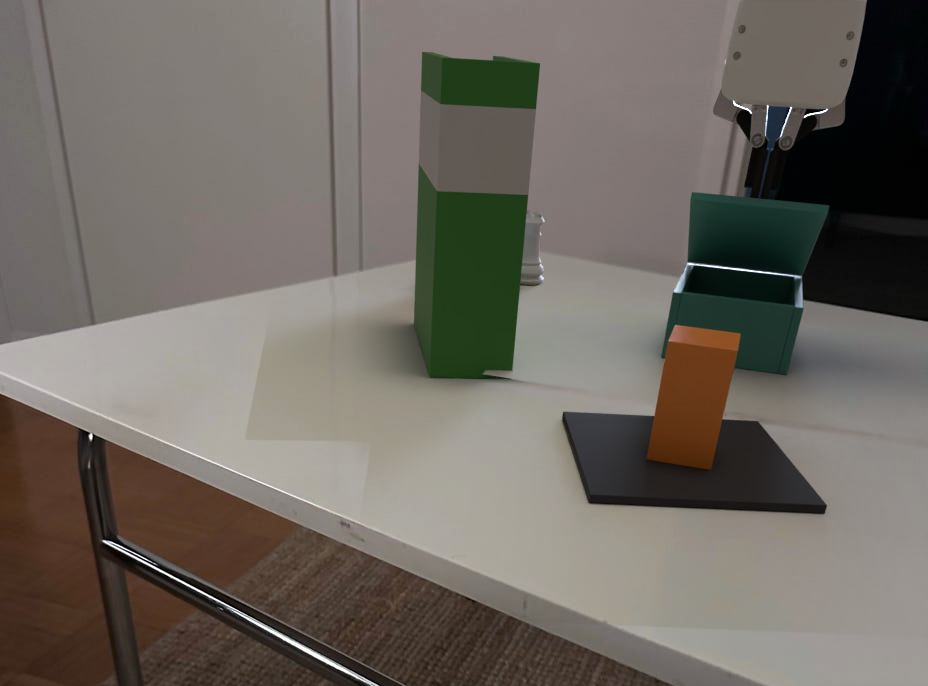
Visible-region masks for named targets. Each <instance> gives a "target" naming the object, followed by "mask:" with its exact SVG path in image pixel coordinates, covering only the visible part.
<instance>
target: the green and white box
mask: <svg viewBox="0 0 928 686" xmlns="http://www.w3.org/2000/svg"><path fill="white" fill-rule="evenodd" d="M540 70H541V63H540V62H536V61H529V60H524V59H519V58H514V57H509V56H502V55H492V59H478V58H477V59H475V58H460V57H452V56H447V55H445V54H441V53H437V52H433V51H421V73H420V75H421V78H420V105H419V106H420V107H419V108H420V109H419V110H420V111H419V137H418V138H419V139H418V140H419V141H418V174H417V175H418V177H417V204H416V205H417V210H416V239H415V240H416V244H415V270H414V271H415V272H414V273H415V275H414V277H415V278H414V307H413V308H414V309H413V325H414V329H415V332H416V336H417V340H418V344H419V346H420V350H421V353H422V356H423V360H424V363H426V364H425V367H426V371H427V374H428V376H429V377H431V378H433V379H434V378H435V377H437V378H439V379H489V380H491V379H492V378H493V379H497V380H499V379H500V380H512V378H510V377H505V376H497V375H489V374H485V372H486V371H512V372H513V369H514V358H515V348H516V347H515V346H516V337H517V336H516V335H517V334H516V333H517V325H518V315H519V314H518V313H519V303H520V290H521V284H520V281H521V270H522V259H523V248H524V237H525V226H526V215H527V210H528V204H529V203H528V202H529V192H530V181H531V170H532V161H533V160H532V159H533V150H534V149H533V148H534V139H535V138H534V136H535V126H536V125H535V124H536V114H537V104H538V94H539V93H538V92H539V80H540ZM435 379H436V378H435ZM493 379H492V380H493Z"/></svg>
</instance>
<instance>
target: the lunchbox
mask: <svg viewBox="0 0 928 686" xmlns="http://www.w3.org/2000/svg"><path fill="white" fill-rule="evenodd" d="M669 306H670V307H669V311H668V317H667V322H666V329H665V333H664V340H663V344H662V351H661V357H660V359H664V360H665V355H666V350H667V344H668V340H669V338H670V336H671V333H672V331H673V328H674V326H675V325H680V326H687V327H695V328H703V329H710V330H718V331H726V332H733V333H740V334H741V336H740V341H739V347H738V352H737V357H736V361H735V366H734V369H735V370H736V369H738V370H743V371H744V370H745V371H752V372H759V373H766V374H772V375H779V376H780V375H781V376H787V375H788V371H789V367H790V364H791V360H792V357H793V352H794V348H795V345H796V340H797V337H798V334H799V333H798V332H799V328H800V325H801V321H802V317H803V313H804V308H805V306H804V289H803V275H795V274H787V273H779V272H770V271H761V270H753V269H744V268H735V267H727V266H718V265H709V264H700V263H692V262H687V263H686V265H685V267H684V268H683V271H682V273H681V275H680V277H679V279H678V281H677V283H676V285H675V287H674V290H673V291H672V295H671V301H670V305H669Z"/></svg>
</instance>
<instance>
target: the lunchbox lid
mask: <svg viewBox="0 0 928 686" xmlns="http://www.w3.org/2000/svg"><path fill="white" fill-rule="evenodd" d="M829 210H830V205H828V204H819V203H808V202H798V201H789V200H777V199H770V198H769V199H760V197H758V198H750V196H737V195H736V196H735V195H728V194H718V193H717V194H716V193H709V192H697V191H691V194H690V200H689V218H688V219H689V220H688V241H687V258H686V259H687V260H686V261H687V263H691V264H700V265H709V266H717V267H726V268H735V269H743V270H752V271H761V272H769V273H778V274H787V275H795V276H803V275H804V273H805V270H806V267H807V266H808V263H809V260H810V258H811V255H812V254H813V251H814V248H815V246H816V243H817V240H818V238H819V235H820V233H821V231H822V228H823V226H824V223H825V221H826V219H827V216H828V213H829Z"/></svg>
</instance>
